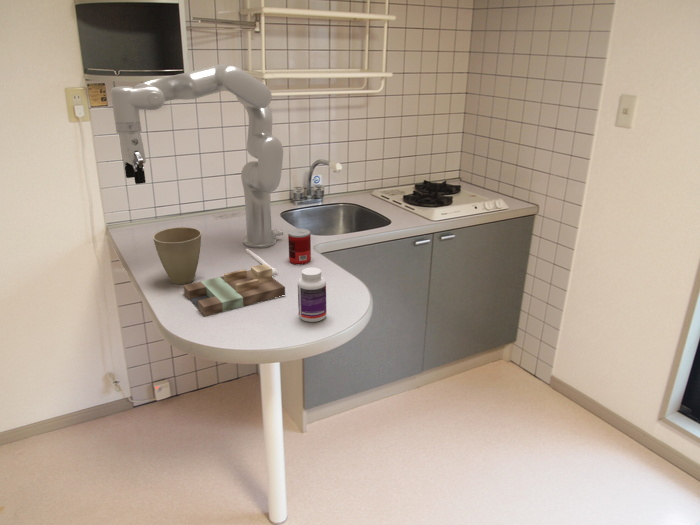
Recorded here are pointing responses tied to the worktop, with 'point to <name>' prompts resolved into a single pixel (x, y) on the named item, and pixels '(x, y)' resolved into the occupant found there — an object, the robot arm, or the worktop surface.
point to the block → (261, 273)
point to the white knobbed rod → (261, 261)
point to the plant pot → (179, 252)
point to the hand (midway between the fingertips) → (135, 180)
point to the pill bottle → (312, 295)
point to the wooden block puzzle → (231, 292)
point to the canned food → (299, 246)
